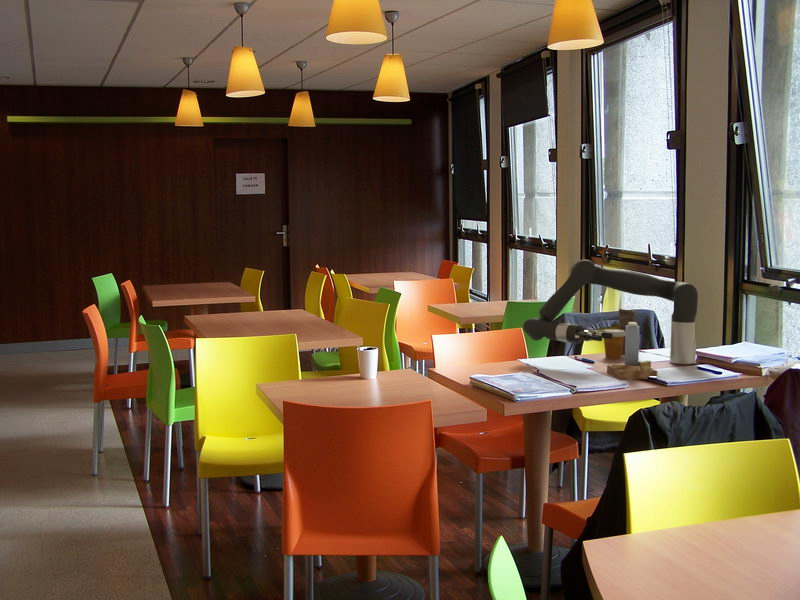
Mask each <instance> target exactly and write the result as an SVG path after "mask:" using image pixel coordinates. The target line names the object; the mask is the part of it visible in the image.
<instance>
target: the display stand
mask: <svg viewBox="0 0 800 600" xmlns="http://www.w3.org/2000/svg"><path fill="white" fill-rule="evenodd" d="M623 362H624V364H621V363H613V364H606V373H607V374H609V375H611V376H612V377H613V376H614V377H615V378H617V379H619V380H621V381H622V380H649V379H648V378H647V377H649V376H657V377H658V370H656V369H654V368H652V361H651V360H644V361H643V360H642V361H638V366H631V365H625V360H624V361H623Z"/></svg>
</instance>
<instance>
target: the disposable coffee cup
mask: <svg viewBox="0 0 800 600" xmlns="http://www.w3.org/2000/svg"><path fill="white" fill-rule="evenodd" d="M603 331H605V333H612V334H613V338H612V339H607V338H603V343H604V344H603V345H604V354H605V358H606V359H607V358H609V359H608V360H621V359H622V355H623V354H622V348H623V341H624V336H625V331H624V330H619V328H618V329H617V328H609V329H608V328H606V329H603Z"/></svg>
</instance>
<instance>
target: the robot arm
mask: <svg viewBox="0 0 800 600" xmlns="http://www.w3.org/2000/svg"><path fill="white" fill-rule="evenodd" d="M586 284H588V285H589V284H590V285H596V286H597V285H599V286H603V287H607V288H609V289H612V290H615V291H619V292H623V293H628V294H632V295H637V296H642V297H643V296H645V297H656V298H657V297H658V298H662V299H665V300H668V301H671V302H672V303H674V304H673V312H672V314H671V320H670V321H671V323H670V346H669V347H670V351H669V353H670V354H669V362H670V363H671V364H676V365H677V364H678V365H693V364H696V363H697V362H696V357H697V356H696V355H697V340H696V339H695V329H696V324H695V323H696V316H697V314H698V299H699V295H698V290H697V288H696V287H695V286H694V285H693V284H692V283H688V282H684V281H675V280H674V281H671V280H665V279H660V278H657V277H654V276H652V275H650V274H647V273H643V272H639V271H633V270H628V269H622V268H621V269H618V268H605V267H602V266H601V267H600V266H599V265H595V263H594V262H592V261H591V260H589V259H580V260H578V261H576V262H575V263H574V264H573V265H572V266H571V268H570V274H569V276H568V277H567V279H566V280H565V282H564V283H563V284H562V285H561V286H560V287H559V288H558V289H557V290H556V291H555V292H554V293H553V294H552V295H551V296H550V297H549V298H548V299H547V300H546V301H545V303H544V304H543V305H542V306H541V308H540V309H539V310H538V314H539V318H537V317H531V318H528V319H526V320H525V321H524V322H523V324H522V329H523V331H524V333H525V334H527V336H529V338H531V340H533V341H540V340H542V339H543V338H546V339H548V340H551V341H559V342H562V343H571V344H581V343H582V342H583V341H584V342H593V341H596V342H602V341H603V339H604V338H607V339H612V338H613V334H612V333H605V331H604V330H596V329H595V330H594V329H585V327H584V326H583V325H582V324H575V323H568V322H567V323H566V322H565V323H562V322H561V323H560V322H554V320H555V319H556V318H557V316H558V315H560V313H561V312H562V310H563V309H564V308H565V307H566V305H567V304H568V303H569V301H570V300H572V299H573V297H574V296H575V295H576V293H578V292H579V290H580V289H581V288H582V287H584V286H585V285H586ZM692 363H693V364H692Z"/></svg>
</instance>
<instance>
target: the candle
mask: <svg viewBox="0 0 800 600" xmlns="http://www.w3.org/2000/svg"><path fill="white" fill-rule="evenodd" d="M636 319H637V316H636V310H635V309H631V310H630V309H622V308H619V309H618V329H619V330H624V331H625V335H626V325H628V323H629V322H635V323H637V322H636V321H637V320H636ZM623 354H625V336H624V341H623V348H622V354H621V355H623Z"/></svg>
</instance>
